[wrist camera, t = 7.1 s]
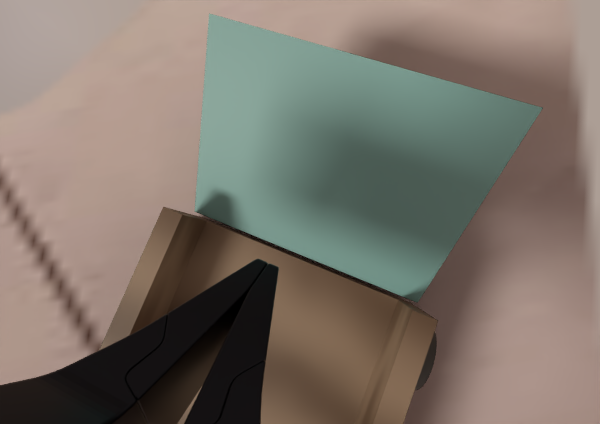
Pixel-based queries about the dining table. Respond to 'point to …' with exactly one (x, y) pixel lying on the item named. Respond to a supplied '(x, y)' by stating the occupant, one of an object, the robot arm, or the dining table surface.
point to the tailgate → (346, 154)
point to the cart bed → (292, 325)
